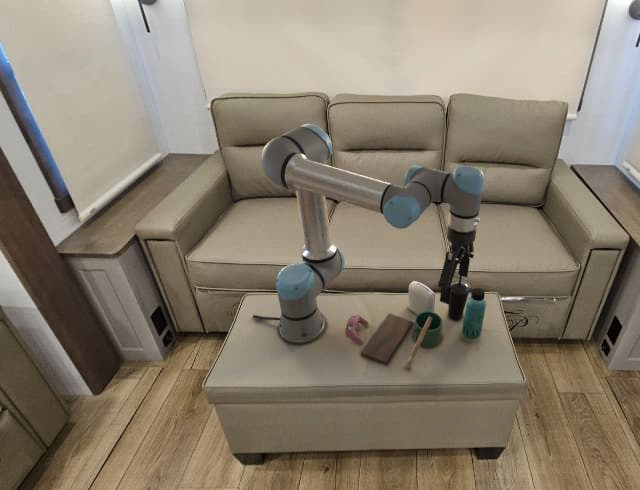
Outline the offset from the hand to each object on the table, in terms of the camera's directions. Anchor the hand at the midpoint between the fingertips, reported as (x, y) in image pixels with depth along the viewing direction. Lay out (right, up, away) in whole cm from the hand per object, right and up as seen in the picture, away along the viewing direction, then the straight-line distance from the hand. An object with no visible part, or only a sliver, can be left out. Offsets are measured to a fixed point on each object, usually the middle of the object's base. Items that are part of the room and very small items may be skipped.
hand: (454, 288), depth 123 cm
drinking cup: (+4, -12, +29) cm, 32 cm away
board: (-20, -18, +19) cm, 33 cm away
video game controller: (-30, -17, +21) cm, 41 cm away
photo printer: (-8, -11, +30) cm, 33 cm away
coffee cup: (-7, -18, +20) cm, 28 cm away
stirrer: (-10, -18, +11) cm, 23 cm away
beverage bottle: (+8, -18, +21) cm, 29 cm away
